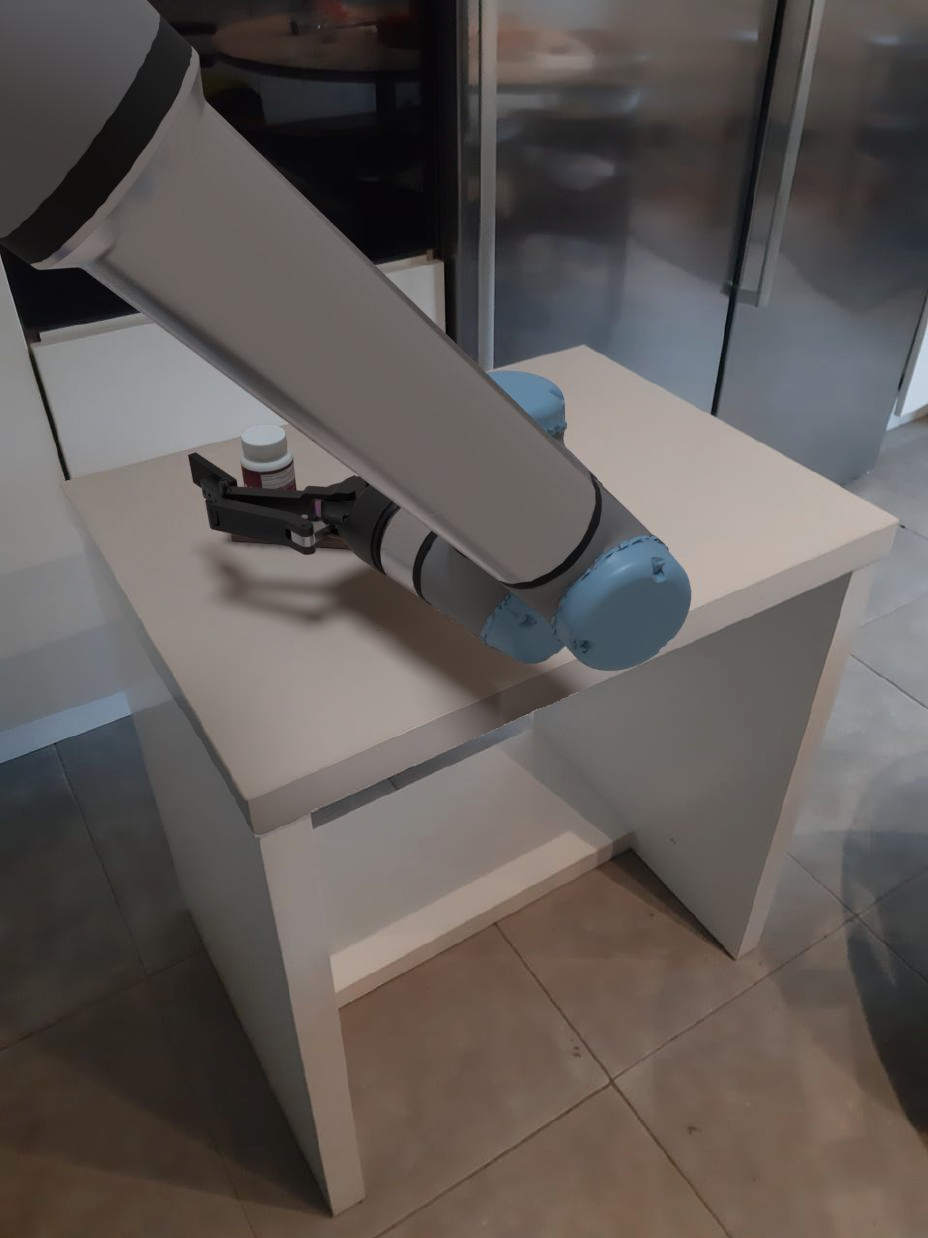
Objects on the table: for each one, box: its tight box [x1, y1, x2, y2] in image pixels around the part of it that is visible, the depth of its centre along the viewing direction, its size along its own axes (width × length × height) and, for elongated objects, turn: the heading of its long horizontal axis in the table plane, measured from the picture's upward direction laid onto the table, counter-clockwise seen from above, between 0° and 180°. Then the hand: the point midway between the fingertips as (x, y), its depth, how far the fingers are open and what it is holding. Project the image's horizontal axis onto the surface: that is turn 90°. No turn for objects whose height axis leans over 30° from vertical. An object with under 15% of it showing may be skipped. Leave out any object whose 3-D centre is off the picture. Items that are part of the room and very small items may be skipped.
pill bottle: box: [239, 424, 298, 490], centre depth 91 cm, size 5×5×8 cm
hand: (260, 442), depth 89 cm, fingers open, 13 cm apart
